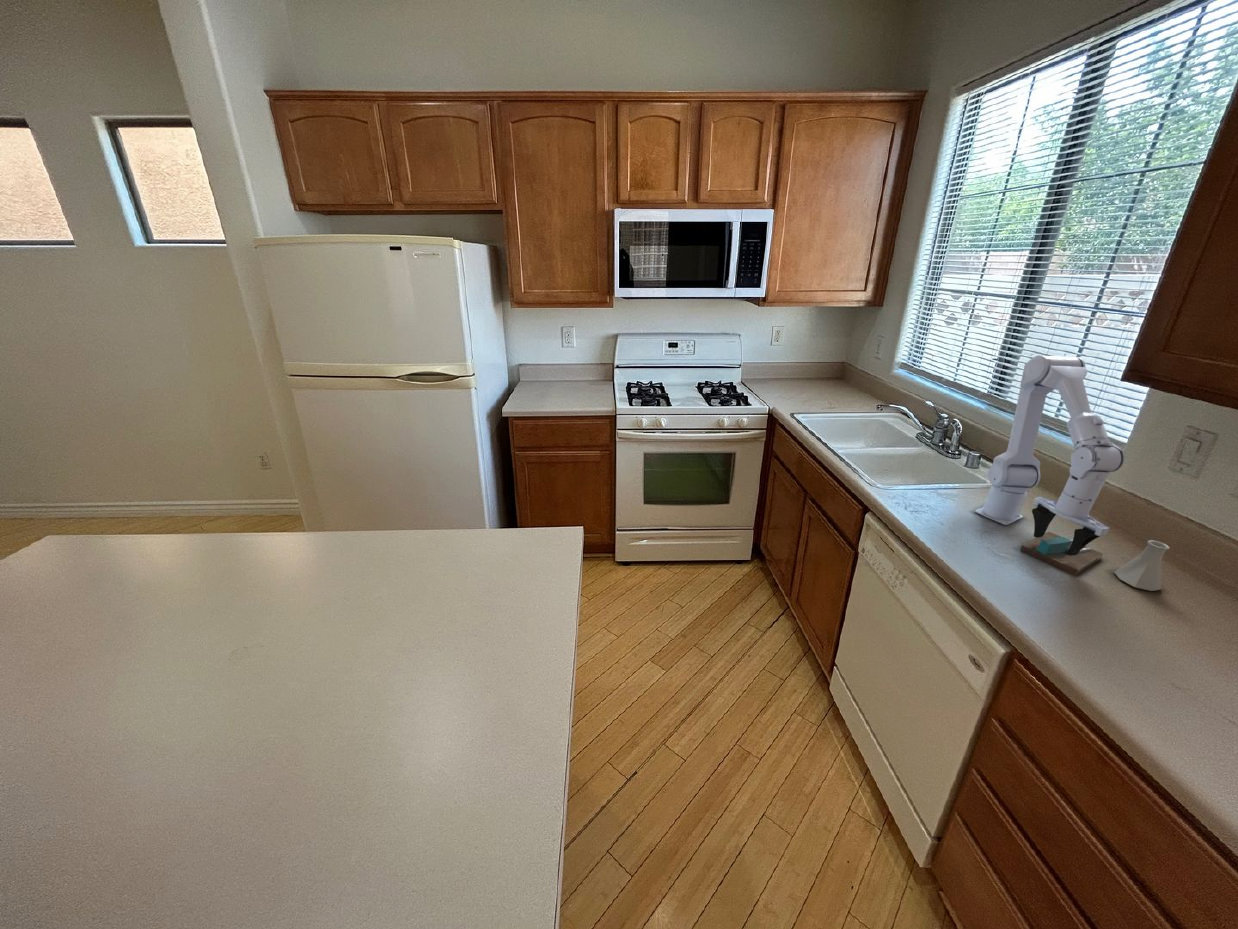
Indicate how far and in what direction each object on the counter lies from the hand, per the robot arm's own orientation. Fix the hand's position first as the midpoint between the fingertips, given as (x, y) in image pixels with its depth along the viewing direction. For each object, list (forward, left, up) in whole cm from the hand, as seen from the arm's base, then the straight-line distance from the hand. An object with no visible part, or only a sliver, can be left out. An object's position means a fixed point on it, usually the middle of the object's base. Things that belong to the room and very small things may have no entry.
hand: (1054, 545), depth 113 cm
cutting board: (-3, +1, -3) cm, 5 cm away
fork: (-3, +1, -2) cm, 4 cm away
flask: (-6, +14, -3) cm, 16 cm away
